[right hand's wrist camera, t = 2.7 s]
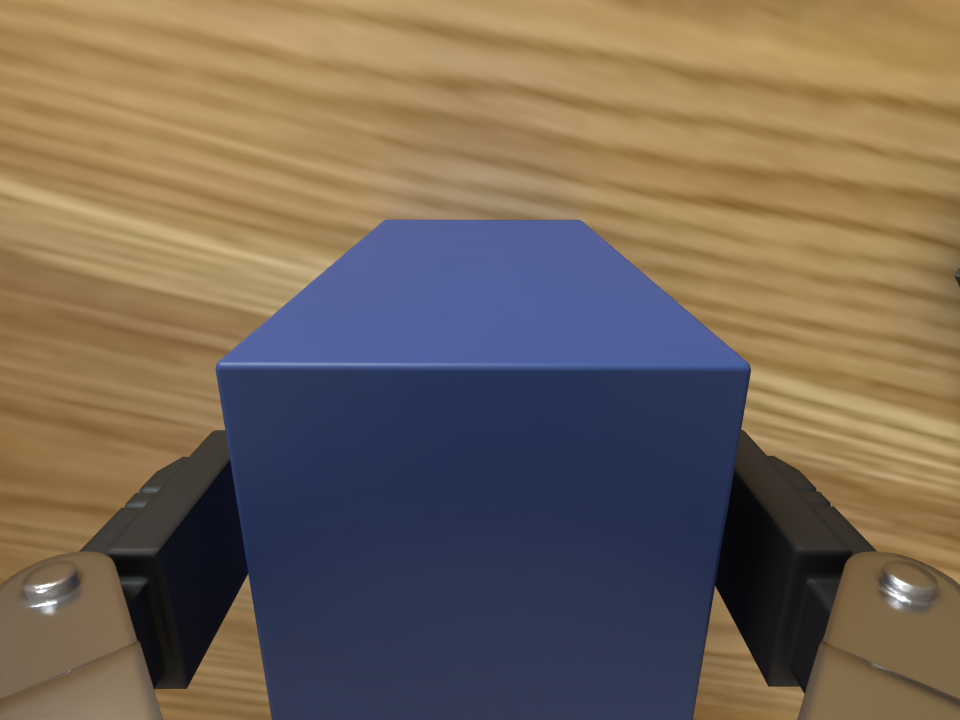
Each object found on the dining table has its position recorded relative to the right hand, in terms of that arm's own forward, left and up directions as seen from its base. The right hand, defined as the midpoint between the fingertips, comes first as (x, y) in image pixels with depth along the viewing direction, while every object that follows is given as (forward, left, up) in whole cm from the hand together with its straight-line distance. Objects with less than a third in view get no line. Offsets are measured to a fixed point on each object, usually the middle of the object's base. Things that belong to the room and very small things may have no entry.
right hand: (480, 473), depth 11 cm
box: (0, +10, -10) cm, 14 cm away
